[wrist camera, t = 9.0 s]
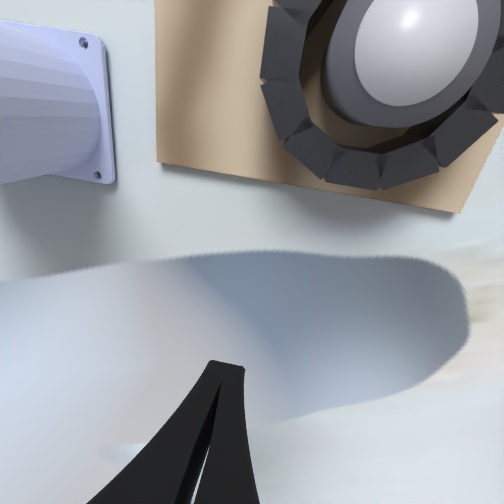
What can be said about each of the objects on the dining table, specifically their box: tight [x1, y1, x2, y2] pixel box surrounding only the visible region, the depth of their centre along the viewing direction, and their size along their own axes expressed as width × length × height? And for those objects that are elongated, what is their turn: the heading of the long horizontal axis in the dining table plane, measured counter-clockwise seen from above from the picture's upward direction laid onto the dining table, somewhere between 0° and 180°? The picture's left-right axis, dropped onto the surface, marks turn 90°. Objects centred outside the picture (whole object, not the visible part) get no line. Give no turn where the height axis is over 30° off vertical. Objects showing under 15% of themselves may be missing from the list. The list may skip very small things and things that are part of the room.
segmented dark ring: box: [259, 0, 504, 191], centre depth 12 cm, size 10×10×3 cm
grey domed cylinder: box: [321, 0, 501, 128], centre depth 11 cm, size 5×5×5 cm
